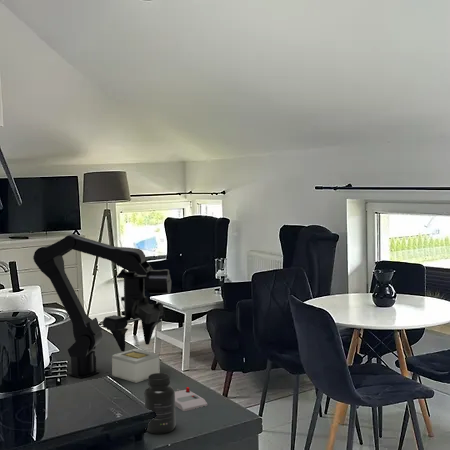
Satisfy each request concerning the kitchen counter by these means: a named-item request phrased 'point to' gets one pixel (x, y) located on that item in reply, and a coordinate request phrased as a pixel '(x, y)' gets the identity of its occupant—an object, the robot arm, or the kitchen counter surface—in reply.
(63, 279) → the robot arm
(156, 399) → the supplement bottle
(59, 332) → the kitchen counter surface
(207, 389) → the kitchen counter surface
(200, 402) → the white control pad
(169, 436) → the kitchen counter surface
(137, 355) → the yellow rectangular block
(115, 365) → the coin box
